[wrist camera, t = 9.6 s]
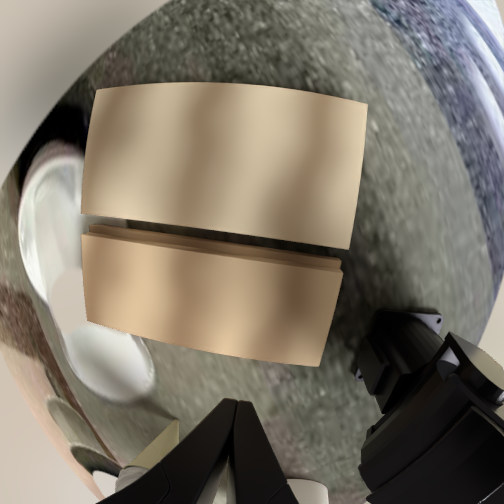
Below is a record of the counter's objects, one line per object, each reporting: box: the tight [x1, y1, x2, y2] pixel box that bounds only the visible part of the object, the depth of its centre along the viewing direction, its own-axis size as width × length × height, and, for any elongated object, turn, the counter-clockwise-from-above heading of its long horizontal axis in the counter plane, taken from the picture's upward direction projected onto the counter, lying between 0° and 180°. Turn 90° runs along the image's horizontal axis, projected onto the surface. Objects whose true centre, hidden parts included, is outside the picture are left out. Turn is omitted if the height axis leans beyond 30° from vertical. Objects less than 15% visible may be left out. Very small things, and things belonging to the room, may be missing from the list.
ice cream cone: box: [115, 419, 179, 492], centre depth 16 cm, size 5×5×15 cm
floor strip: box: [81, 224, 343, 367], centre depth 19 cm, size 18×8×2 cm, turn 83°
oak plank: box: [81, 82, 368, 250], centre depth 17 cm, size 18×9×2 cm, turn 83°
